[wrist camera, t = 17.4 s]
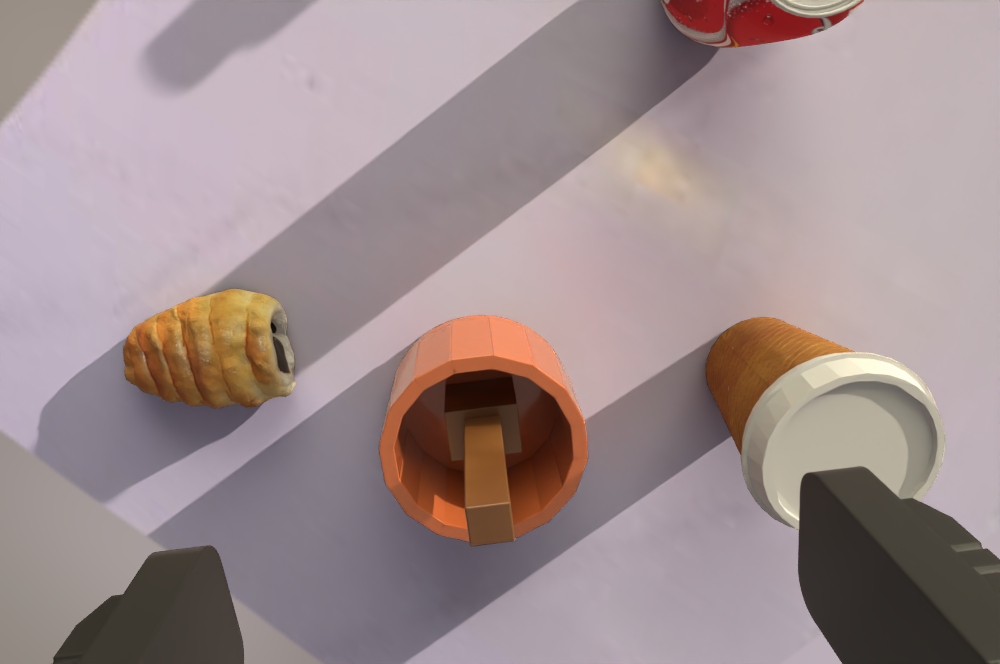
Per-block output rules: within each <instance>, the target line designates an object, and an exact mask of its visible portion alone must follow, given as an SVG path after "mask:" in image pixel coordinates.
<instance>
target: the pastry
mask: <svg viewBox="0 0 1000 664" xmlns="http://www.w3.org/2000/svg"><path fill="white" fill-rule="evenodd" d="M287 324H288V323H287V318H286V314H285V310H284V308H283V307H282V306H281V304H280V303H279V302H278V301H277V300H276V299H274V298H272V297H270V296H267V295H265V294H261V293H256V292H251V291H246V290H241V289H228V290H225V291H222V292H218V293H214V294H210V295H206V296H201V297H196V298H192V299H189V300H188V301H186V302H184V303H181V304H178V305H176V306H175V307H173V308H171V309H168V310H166V311H164V312H161V313H158V314H156V315H154V316H153V317H151V318H149V319H147V320H146V321H144V322H143V323H141V324H139V325H137V326H135V327H134V329H133V330H132V332H131V333H130V335H129V336H128V338H127V340H126V342H125V345H124V347H123V355H124V363H125V370H124V372H125V377H126V380H128V381H129V382H130V383H131V384H134V385H136V386H137V387H139V389H140V390H141V391H143V392H145V393H149V394H152V395H157V396H159V397H161V398H162V399H163V400H165V401H168V402H181V401H183V402H185V403H186V404H188V405H190V406H201V405H208V406H210V407H212V408H214V409H215V408H222V407H225V406H228V405H230V404H240V405H242V406H244V407H255V406H258V405H260V404H261V403H263V402H265V401H267V400H269V399H272V398H275V397H279V396H282V397H286V396H288V395H290V394H291V392H292V391H293V389H294V387H295V380H294V377H293V374H294V366H295V359H294V353H293V350H292V348H291V345H290V342H289V339H288V337H287V335H286V329H287Z"/></svg>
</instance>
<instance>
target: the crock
mask: <svg viewBox="0 0 1000 664" xmlns="http://www.w3.org/2000/svg"><path fill="white" fill-rule="evenodd" d="M504 377H512V378H513V384H514V389H515V395H516V400H517V407H518V416H519V425H520V434H521V443H522V453H514V454H506V455H505V461H506V469H507V477H508V486H509V494H510V502H511V511H512V519H513V527H514V535H515V538H517V537H519V536H521V535H523V534H525V533H527V532H529V531H531V530H533V529H535V528H537V527H539V526H541V525H543V524H545V523H547V522H549V521H550V520H551V519H552V518H553V517H554V516H555V515H556V514H557V513H558V512H559V511H560V509H561V508H562V507H563V506H564V505H565V504H566V503H567V502H568V501H569V500H570V499H571V497H572V496H573V495H574V494H575V492H576V490H577V488H578V485H579V482H580V479H581V477H582V474H583V471H584V468H585V466H586V463H587V460H588V448H587V435H586V423H585V420H584V417H583V414H582V412H581V409H580V406H579V404H578V401H577V398H576V396H575V393H574V390H573V387H572V385H571V382H570V379H569V377H568V375H567V373H566V371H565V370H564V368H563V365H562V363H561V361H560V359H559V357H558V356H557V354H556V353H555V351H554V350H553V349H552V347H551V346H550V345H549V344H548V343H547V342H546V341H545V340H544V339H543V338H542V337H541V336H540V335H538V334H537V333H536V332H534V331H533V330H531V329H530V328H528V327H526V326H524V325H522V324H520V323H518V322H515V321H512V320H509V319H506V318H501V317H496V316H485V315H479V316H467V317H462V318H457V319H454V320H451V321H448V322H445V323H443V324H441V325H439V326H437V327H435V328H433V329H432V330H430V331H429V332H427V333H426V334H424V335H423V336H422V337H421V338H420V339H418V340H417V341H416V342H415V343H414V345H413V346H412V347H411V348H410V349H409V350H408V352H407V353H406V355H405V356H404V357H403V359H402V361H401V363H400V365H399V366H398V368H397V371H396V375H395V378H394V382H393V386H392V390H391V394H390V398H389V402H388V406H387V411H386V415H385V420H384V424H383V429H382V433H381V438H380V442H379V453H380V459H381V464H382V470H383V475H384V481H385V484H386V486H387V487H388V488H389V490H390V491H391V493H392V494H393V496H394V497H395V499H396V500H397V501H398V503H399V504H400V506H401V507H402V509H403V510H404V512H405V513H406V514H407V515H408V516H410V517H411V518H413V519H414V520H416V521H417V522H419V523H421V524H422V525H424V526H425V527H427V528H428V529H430V530H431V531H433V532H434V533H436V534H439V535H441V536H445V537H450V538H455V539H459V540H464V541H468V542H469V536H468V529H467V522H466V515H465V500H464V460H457V461H451V456H450V450H449V443H448V436H447V429H446V423H445V416H444V405H445V385H447V384H455V383H463V382H472V381H480V380H488V379H496V378H504Z"/></svg>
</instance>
